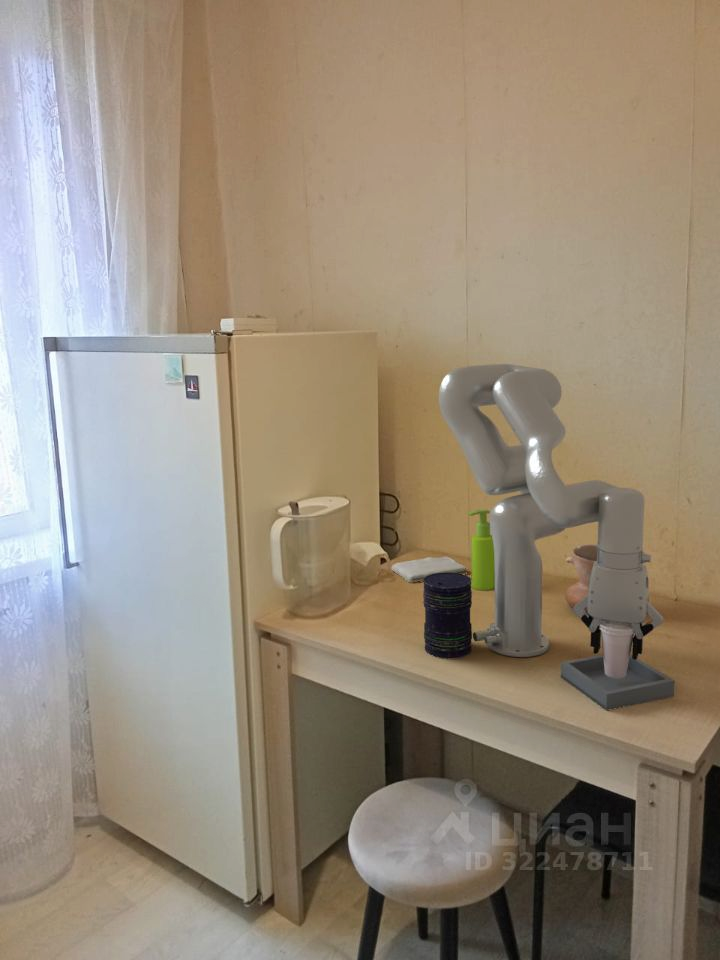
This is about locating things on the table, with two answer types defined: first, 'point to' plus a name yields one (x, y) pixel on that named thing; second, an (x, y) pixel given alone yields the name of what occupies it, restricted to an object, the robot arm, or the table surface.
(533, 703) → the table surface
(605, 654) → the smoothie
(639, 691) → the tray
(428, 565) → the washcloth
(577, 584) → the ceramic jug
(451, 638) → the storage jar
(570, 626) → the table surface
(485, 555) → the soap dispenser
